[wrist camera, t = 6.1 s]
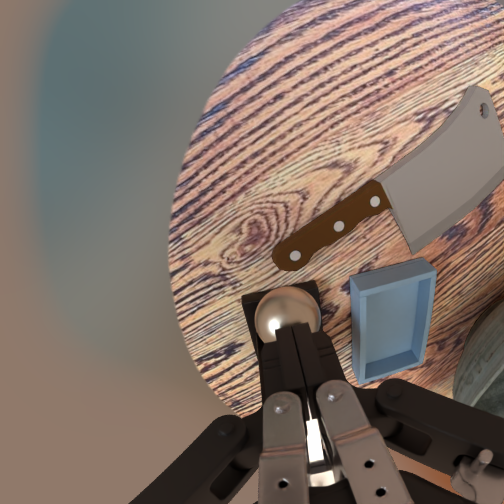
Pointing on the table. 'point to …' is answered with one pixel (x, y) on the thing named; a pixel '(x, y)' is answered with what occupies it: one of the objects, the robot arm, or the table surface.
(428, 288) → the butter dish
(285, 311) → the cutter lever
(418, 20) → the table surface
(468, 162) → the kitchen cleaver
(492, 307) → the bowl
